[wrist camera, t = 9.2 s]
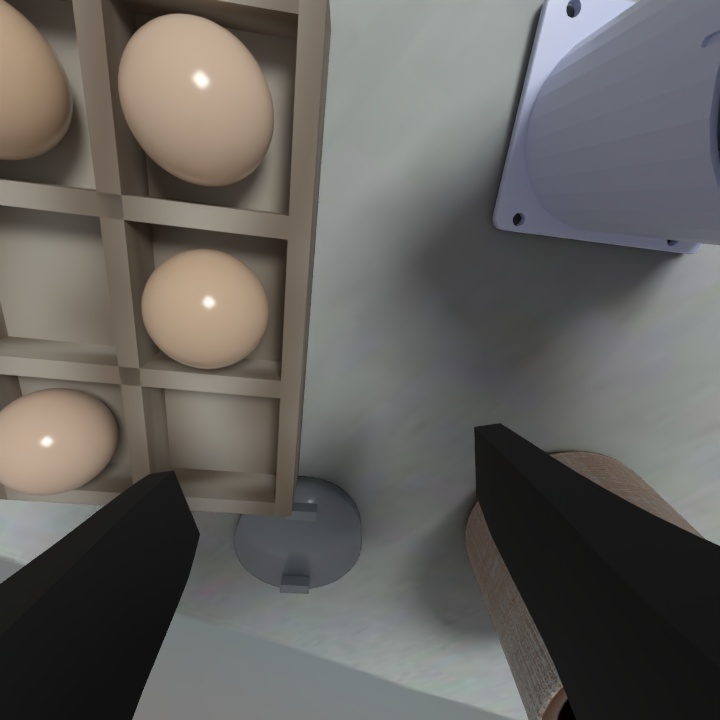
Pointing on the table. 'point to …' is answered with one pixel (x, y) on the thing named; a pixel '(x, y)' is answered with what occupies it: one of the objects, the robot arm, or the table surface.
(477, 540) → the planter
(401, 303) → the table surface
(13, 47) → the egg
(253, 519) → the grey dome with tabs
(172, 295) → the egg loose
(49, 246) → the carton
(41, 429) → the egg
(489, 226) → the table surface
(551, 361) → the table surface
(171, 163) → the egg
